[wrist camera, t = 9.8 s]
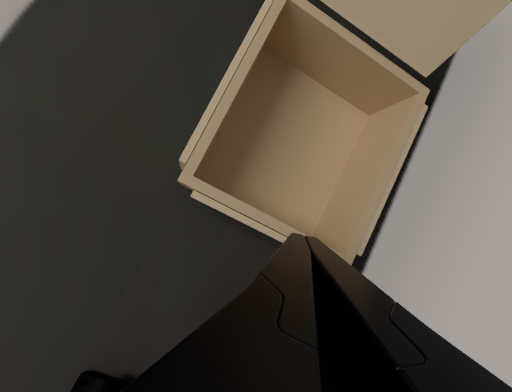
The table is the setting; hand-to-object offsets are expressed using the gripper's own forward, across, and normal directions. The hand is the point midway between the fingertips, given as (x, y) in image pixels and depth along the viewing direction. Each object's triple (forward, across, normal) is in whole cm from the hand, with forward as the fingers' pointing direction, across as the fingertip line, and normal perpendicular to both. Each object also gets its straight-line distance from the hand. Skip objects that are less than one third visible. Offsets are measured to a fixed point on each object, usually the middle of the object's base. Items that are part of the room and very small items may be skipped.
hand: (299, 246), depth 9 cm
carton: (+15, 0, -2) cm, 15 cm away
